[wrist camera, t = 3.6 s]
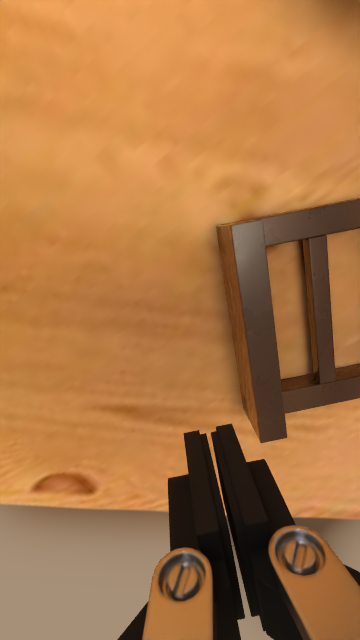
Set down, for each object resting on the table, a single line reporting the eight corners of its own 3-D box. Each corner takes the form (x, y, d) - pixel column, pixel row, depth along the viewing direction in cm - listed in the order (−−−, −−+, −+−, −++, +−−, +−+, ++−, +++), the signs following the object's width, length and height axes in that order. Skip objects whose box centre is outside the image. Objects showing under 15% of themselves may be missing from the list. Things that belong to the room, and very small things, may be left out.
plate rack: (243, 408, 26) (279, 481, 19) (215, 225, 22) (247, 224, 15) (391, 377, 27) (485, 437, 19) (389, 191, 23) (506, 174, 15)
